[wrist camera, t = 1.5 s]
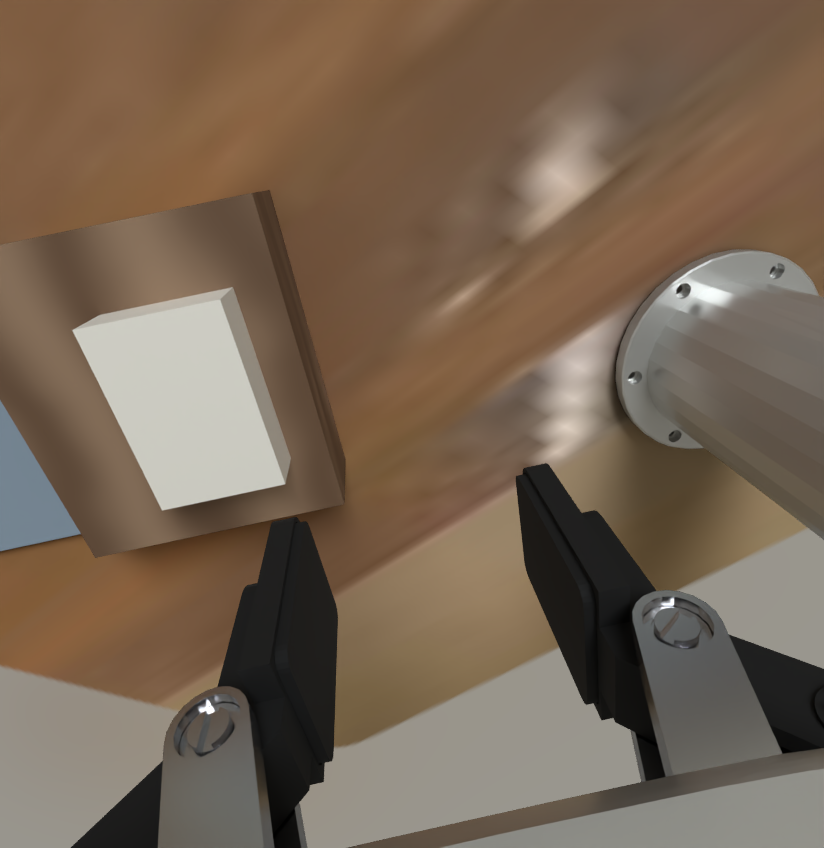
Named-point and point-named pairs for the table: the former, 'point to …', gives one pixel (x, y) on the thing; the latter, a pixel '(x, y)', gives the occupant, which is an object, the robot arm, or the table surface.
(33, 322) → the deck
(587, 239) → the table surface
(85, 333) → the block
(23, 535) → the mat
